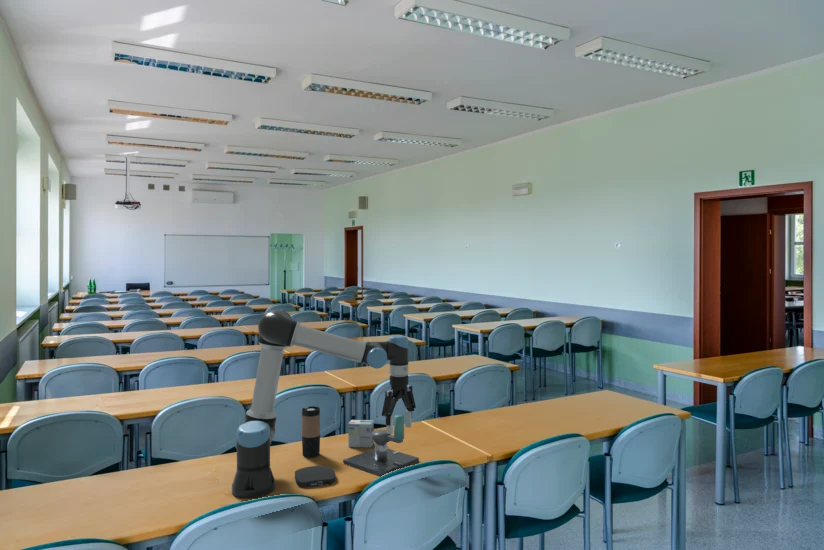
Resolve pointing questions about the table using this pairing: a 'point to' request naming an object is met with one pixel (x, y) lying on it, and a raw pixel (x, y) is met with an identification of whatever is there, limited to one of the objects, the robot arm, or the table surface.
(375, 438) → the crank handle
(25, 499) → the table surface
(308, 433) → the travel mug
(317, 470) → the media streaming box
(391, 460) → the post base
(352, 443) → the light bulb box
